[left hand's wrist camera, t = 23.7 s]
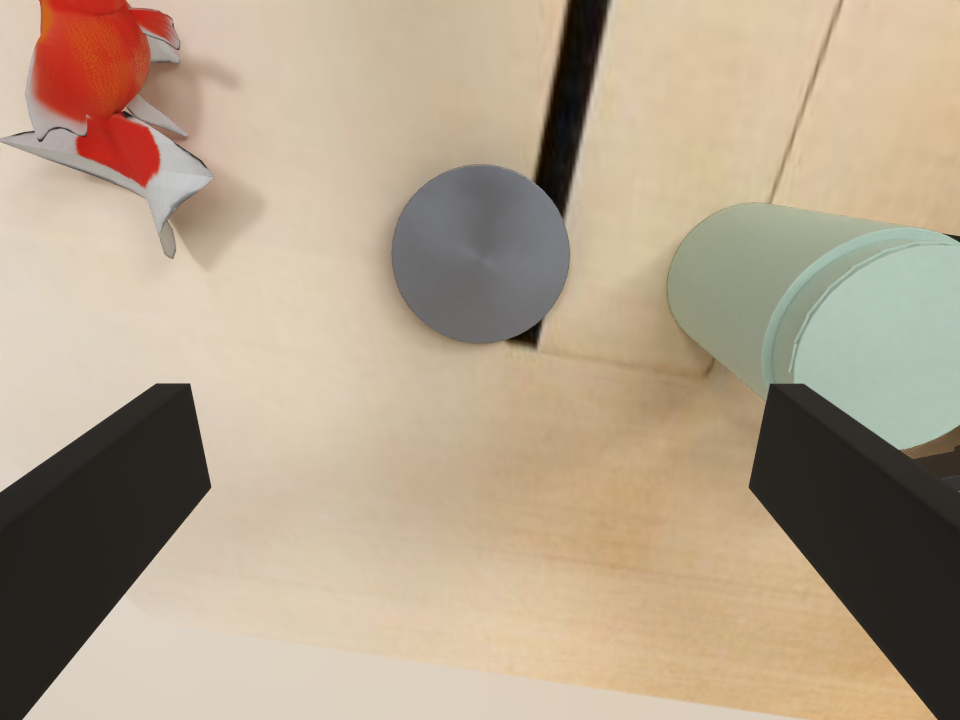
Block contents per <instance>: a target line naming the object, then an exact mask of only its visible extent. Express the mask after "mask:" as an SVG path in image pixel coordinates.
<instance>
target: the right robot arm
mask: <svg viewBox="0 0 960 720" xmlns="http://www.w3.org/2000/svg"><path fill="white" fill-rule="evenodd" d="M941 234H942V233H941ZM944 235H947V236H949V237H951V238H952V239H954V240H956V241H958V242H959V243H960V236H954V235H948V234H944ZM913 460H914V461H915V462H917V463H918V464H920V465H921V466H923V467H924V468H925V469H927V470H928V471H930V472H931V473H933V474H934V475H936V476H937V477H938V478H940V479H941V480H943V481H944V482H946V483H947V484H948V485H950V486H951V487H953V488H954V489H956V490H957V491H960V445H959V446H956V447H955V451H953V452H948V453H943V454H938V455H933V456H928V457H923V458H918V459H913Z"/></svg>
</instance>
